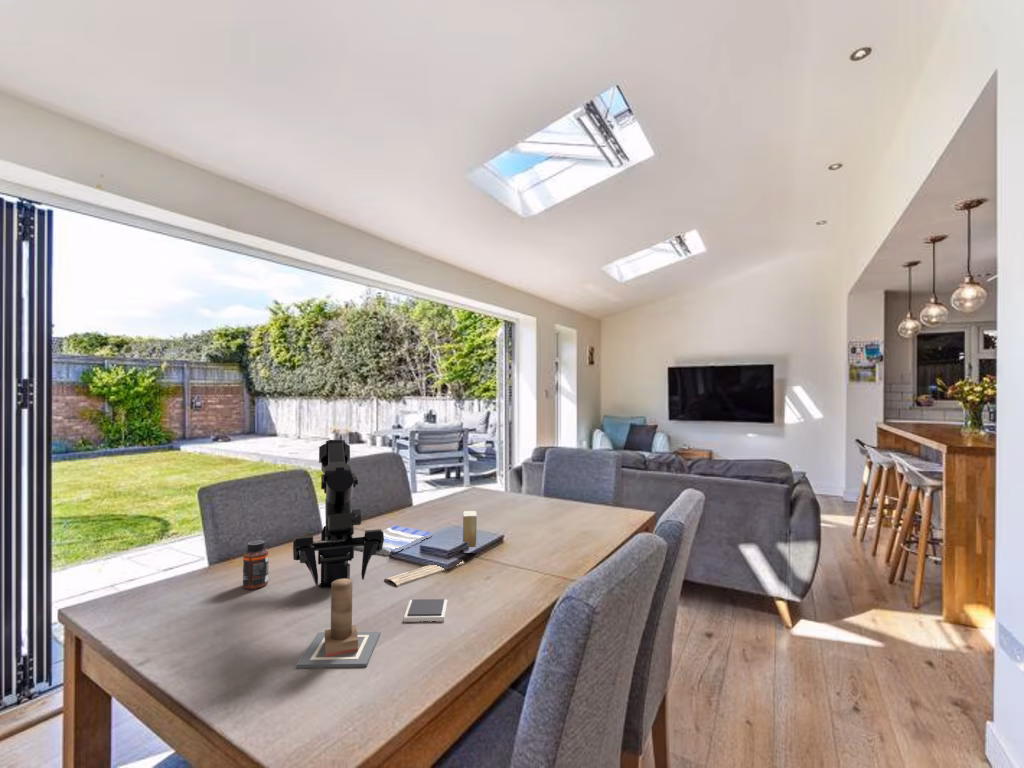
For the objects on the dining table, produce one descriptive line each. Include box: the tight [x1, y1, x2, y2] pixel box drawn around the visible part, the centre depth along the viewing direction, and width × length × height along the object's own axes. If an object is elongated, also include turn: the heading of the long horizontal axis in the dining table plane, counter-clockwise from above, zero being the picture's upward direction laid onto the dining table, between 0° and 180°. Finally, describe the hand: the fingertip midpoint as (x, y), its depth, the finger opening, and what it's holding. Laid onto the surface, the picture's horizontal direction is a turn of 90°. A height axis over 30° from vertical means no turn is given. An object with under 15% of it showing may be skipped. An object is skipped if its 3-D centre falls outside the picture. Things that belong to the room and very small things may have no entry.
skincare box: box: [462, 510, 478, 548], centre depth 158 cm, size 6×4×12 cm
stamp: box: [324, 579, 358, 657], centre depth 98 cm, size 6×6×13 cm
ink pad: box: [403, 598, 448, 623], centre depth 115 cm, size 9×9×1 cm
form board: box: [295, 631, 381, 669], centre depth 98 cm, size 13×12×1 cm
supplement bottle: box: [242, 539, 270, 590], centre depth 129 cm, size 6×6×11 cm
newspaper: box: [384, 560, 465, 588], centre depth 140 cm, size 24×7×2 cm, turn 137°
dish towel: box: [354, 524, 432, 556], centre depth 166 cm, size 17×24×3 cm
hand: (340, 581), depth 104 cm, fingers open, 9 cm apart
